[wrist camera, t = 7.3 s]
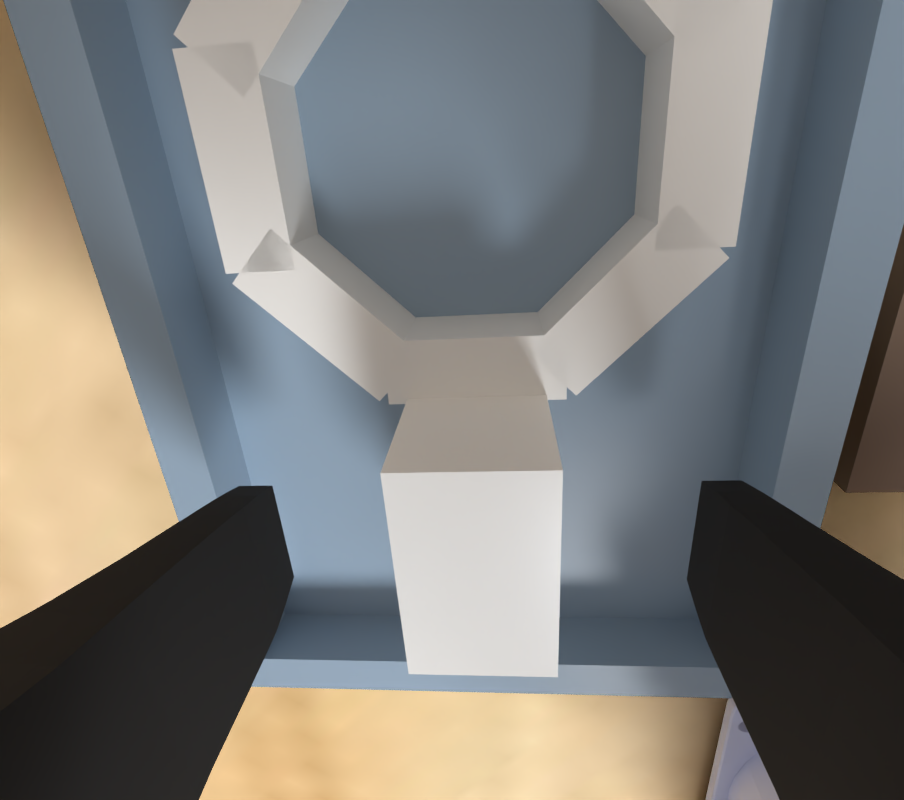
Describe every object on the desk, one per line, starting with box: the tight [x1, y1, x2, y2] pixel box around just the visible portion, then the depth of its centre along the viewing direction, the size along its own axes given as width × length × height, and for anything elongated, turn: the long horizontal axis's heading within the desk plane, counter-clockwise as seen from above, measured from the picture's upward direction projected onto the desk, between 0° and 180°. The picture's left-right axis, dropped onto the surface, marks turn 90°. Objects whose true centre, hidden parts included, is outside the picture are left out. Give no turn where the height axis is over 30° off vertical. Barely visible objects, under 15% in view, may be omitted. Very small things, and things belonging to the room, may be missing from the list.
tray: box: [3, 0, 904, 698], centre depth 10 cm, size 20×13×2 cm, turn 4°
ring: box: [172, 0, 773, 677], centre depth 8 cm, size 12×8×4 cm
